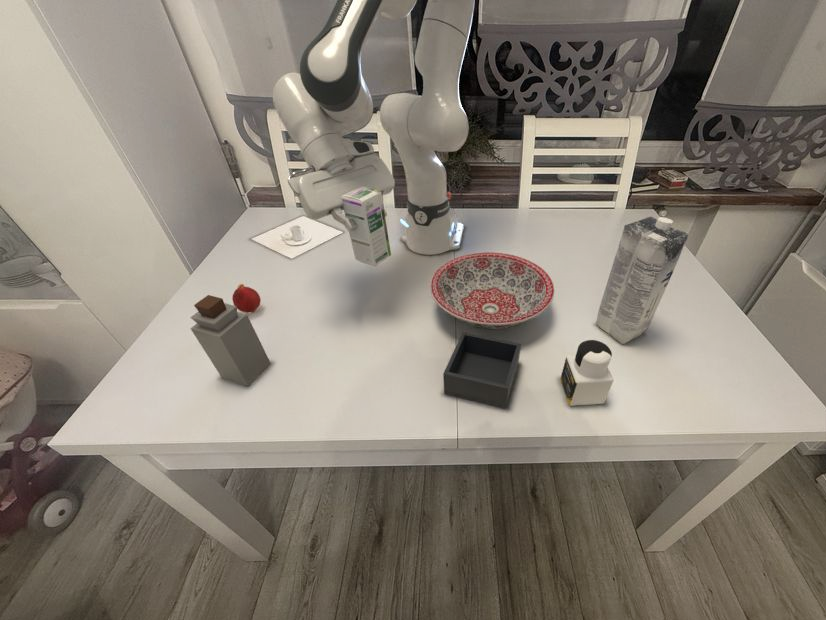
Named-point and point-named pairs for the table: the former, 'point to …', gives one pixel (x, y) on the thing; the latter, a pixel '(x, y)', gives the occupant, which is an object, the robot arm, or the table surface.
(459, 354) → the bin
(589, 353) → the medicine bottle
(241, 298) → the onion
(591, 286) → the table surface
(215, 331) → the perfume bottle
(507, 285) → the ceramic bowl
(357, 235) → the syrup box
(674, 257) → the juice carton
